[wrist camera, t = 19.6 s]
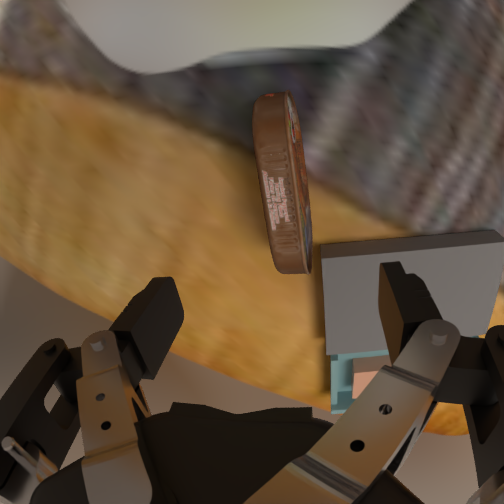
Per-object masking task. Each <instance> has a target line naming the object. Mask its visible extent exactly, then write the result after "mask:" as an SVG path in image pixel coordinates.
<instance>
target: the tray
mask: <svg viewBox="0 0 504 504" xmlns="http://www.w3.org/2000/svg"><path fill="white" fill-rule="evenodd" d="M472 337H474V338H479V336H478V335H477V336H472ZM383 355H389V352H388V350H379V351H369V352H359V353H348V354H336V355H330V375H331V414H339V413H345V411H346V410H347V409H348V408H349V407H350V406H351V404H352V403H353V402H354V401H355V400H356V399H352V392H351V376H352V361H353V358H363V357H373V356H383Z"/></svg>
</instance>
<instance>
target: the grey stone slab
mask: <svg viewBox="0 0 504 504" xmlns="http://www.w3.org/2000/svg"><path fill="white" fill-rule="evenodd" d="M320 250H321V263H322V278H323V293H324V312H325V334H326V355H336V354H348V353H359V352H369V351H379V350H388V348H387V343H386V339H385V335H384V331H383V327H382V323H381V319H380V316H379V309H378V289H379V266H380V263H383V262H395V261H400V262H401V264H402V266H403V268H404V270H405V272H406V274H410V273H414V274H416V275H417V276H418V277H420V278H421V279H422V280H423V281H424V283H425V284H426V286H427V288H428V290H429V292H430V294H431V297H432V298H433V300H434V302H435V304H436V306H437V308H438V310H439V312H440V314H441V316H442V318H443V320H446V321H448V322H450V323H452V324H454V325H455V326H456V327H457V328H458V330H459V332H460V335H461V336H465V337H472V336H477V335H482V334H486V332H487V329H488V326H489V322H490V319H491V316H492V312H493V308H494V305H495V301H496V297H497V293H498V289H499V284H500V280H501V276H502V271H503V266H504V238H503V237H502V236H501V235H500V234H499V233H498V232H497V231H495V230H489V231H477V232H465V233H453V234H441V235H429V236H417V237H405V238H393V239H381V240H369V241H358V242H346V243H334V244H322V245H320Z"/></svg>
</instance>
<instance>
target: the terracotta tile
mask: <svg viewBox="0 0 504 504" xmlns="http://www.w3.org/2000/svg"><path fill="white" fill-rule="evenodd" d="M384 365H388V366H390V367H391V366H392V365H391V361H390V356H389V355H383V356H373V357H363V358H353V361H352V376H351V392H352V399H356V398H357V397H358V396H359V395H360V394H361V392H362V391H363V390H364V389H365V388H366V386H367V385H368V384H369V383H370V381H371V380H372V379H373V378H374V376H375V375H376V374H377V372H378V371H379V370H380V369H381V368H382V367H383V366H384Z"/></svg>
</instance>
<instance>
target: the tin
mask: <svg viewBox="0 0 504 504" xmlns="http://www.w3.org/2000/svg"><path fill="white" fill-rule="evenodd" d="M252 132H253V143H254V151H255V158H256V164H257V170H258V177H259V183H260V190H261V196H262V202H263V207H264V214H265V220H266V225H267V232H268V238H269V243H270V249H271V254H272V258H273V261H274V265H275V267H276V269H277V270H278V271H279V272H280V273H282V274H303V273H306V274H308V275H309V274H310V273H311V269H312V221H311V211H310V201H309V192H308V183H307V175H306V167H305V159H304V151H303V144H302V136H301V130H300V124H299V119H298V114H297V109H296V106H295V102H294V99H293V96H292V94H291V92H290V90H287V91H285V92H279V93H272V94H265V95H262V96H260V97H259V98H258V99H257V100H256V101H255V103H254V107H253V114H252Z"/></svg>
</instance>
